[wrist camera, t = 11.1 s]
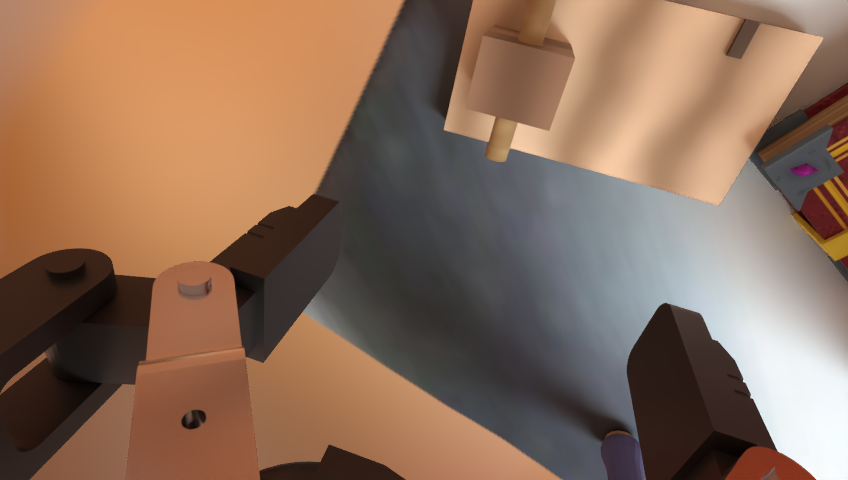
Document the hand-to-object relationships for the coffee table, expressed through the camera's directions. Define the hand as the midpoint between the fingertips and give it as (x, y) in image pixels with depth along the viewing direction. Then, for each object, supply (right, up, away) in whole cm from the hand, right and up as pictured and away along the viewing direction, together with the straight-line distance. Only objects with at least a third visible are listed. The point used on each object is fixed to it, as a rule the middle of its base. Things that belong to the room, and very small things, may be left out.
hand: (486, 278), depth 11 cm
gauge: (+5, +12, +19) cm, 23 cm away
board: (+11, +12, +20) cm, 26 cm away
